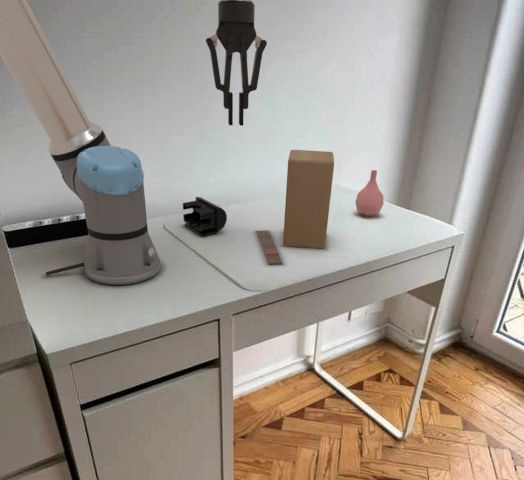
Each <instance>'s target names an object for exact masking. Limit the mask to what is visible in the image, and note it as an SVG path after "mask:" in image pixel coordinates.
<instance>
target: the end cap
mask: <svg viewBox="0 0 524 480" xmlns="http://www.w3.org/2000/svg"><path fill="white" fill-rule="evenodd" d="M191 209H192V212H188V213H183V222H184V227H185V228H187V229H188V230H190V231H191V232H193V233H195V234H197V235H198V236H200V237H203V238H204V237H208V236H212V235H217V234H218V233H219V232H220V231H222V230H223V229H224V228H225V226H226V224H227V221H228V215H227V212H226V210H225V209H223V208H222V207H221V206H218V205H216V204H215V203H212V202H211V201H209V200H207V199H205V198H202V197H200V196H196V197H195V200H192V201H187V202H182V210H184V211H185V210H191Z"/></svg>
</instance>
